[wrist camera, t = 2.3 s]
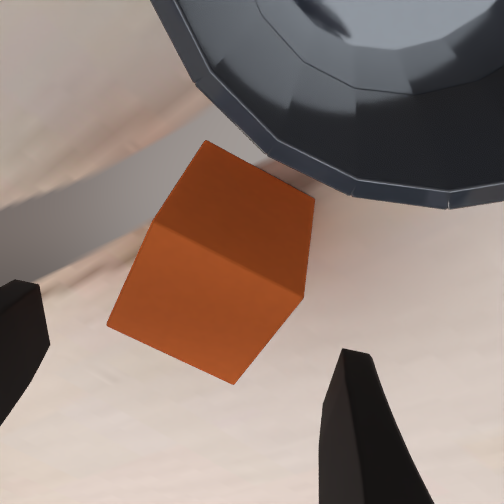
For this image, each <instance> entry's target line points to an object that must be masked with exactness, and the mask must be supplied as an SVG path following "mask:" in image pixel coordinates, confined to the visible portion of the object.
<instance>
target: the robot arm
mask: <svg viewBox="0 0 504 504" xmlns="http://www.w3.org/2000/svg"><path fill="white" fill-rule="evenodd" d="M49 346H50V340H49V335H48V329H47V324H46V319H45V313H44V308H43V303H42V297H41V292H40V286H39V284H34V283H29V282H25V281H20V280H13V281H11V282H9V283H7V284H5V285H4V286H2V287H0V426H1V424H2V423H3V422H4V420H5V419H6V417H7V416H8V415H9V413H10V412H11V410H12V409H13V407H14V406H15V404H16V403H17V402H18V400H19V399H20V397H21V396H22V394H23V393H24V391H25V390H26V388H27V387H28V385H29V384H30V382H31V381H32V379H33V377H34V375H35V373H36V371H37V370H38V368H39V366H40V364H41V362H42V360H43V358H44V356H45V354H46V352H47V350H48V348H49ZM319 504H434V502H433V500H432V498H431V496H430V494H429V492H428V490H427V488H426V486H425V484H424V482H423V480H422V478H421V476H420V474H419V472H418V470H417V468H416V466H415V464H414V462H413V460H412V458H411V456H410V454H409V451H408V449H407V447H406V445H405V442H404V440H403V438H402V435H401V433H400V431H399V429H398V426H397V424H396V422H395V419H394V417H393V414H392V412H391V409H390V407H389V404H388V402H387V399H386V397H385V394H384V391H383V388H382V386H381V383H380V380H379V377H378V374H377V371H376V368H375V365H374V362H373V359H372V357H371V356H370V354H367V353H363V352H358V351H353V350H348V349H343V348H342V350H341V353H340V356H339V359H338V362H337V365H336V368H335V371H334V374H333V376H332V379H331V382H330V385H329V388H328V391H327V394H326V397H325V400H324V402H323V408H322V418H321V427H320V438H319Z"/></svg>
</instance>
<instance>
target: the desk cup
mask: <svg viewBox="0 0 504 504" xmlns="http://www.w3.org/2000/svg"><path fill="white" fill-rule="evenodd" d="M150 1H151V3H152V5H153V7H154V9H155V11H156V13H157V14H158V16H159V18H160V20H161V22H162V24H163V26H164V28H165V30H166V32H167V34H168V35H169V37H170V39H171V41H172V43H173V45H174V47H175V49H176V51H177V53H178V55H179V56H180V58H181V60H182V62H183V64H184V66H185V68H186V70H187V72H188V74H189V76H190V77H191V79H192V81H193V82H194V83H195V85H196V87H197V88H198V89H199V90H200V91H201V92H202V93H203V94H205V95H206V96H207V97H208V98H209V99H210V100H211V101H212V102H213V103H214V104H215V105H216V106H217V107H218V108H219V109H220V110H221V111H222V112H223V113H224V114H225V115H226V116H227V117H228V118H229V119H230V120H231V121H232V122H233V123H234V124H235V125H236V126H237V127H238V128H239V129H240V130H241V131H242V132H243V133H244V134H245V135H246V136H247V137H248V138H249V139H250V140H251V141H252V142H253V143H254V144H255V145H256V146H257V147H258V148H259V149H260V150H261V151H262V152H263V153H264V154H267V156H268V157H270V158H272V159H274V160H276V161H278V162H280V163H283V164H285V165H287V166H289V167H291V168H293V169H295V170H297V171H299V172H301V173H303V174H305V175H307V176H309V177H311V178H313V179H315V180H317V181H319V182H321V183H324V184H326V185H328V186H330V187H332V188H334V189H336V190H338V191H340V192H342V193H344V194H346V195H348V196H352V197H356V198H363V199H371V200H378V201H385V202H393V203H400V204H407V205H415V206H422V207H429V208H437V209H444V210H445V209H457V208H463V207H470V206H476V205H483V204H489V203H496V202H502V201H504V0H150Z"/></svg>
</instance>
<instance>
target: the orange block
mask: <svg viewBox="0 0 504 504" xmlns="http://www.w3.org/2000/svg"><path fill="white" fill-rule="evenodd" d="M314 204H315V199H314V198H312V197H310V196H308V195H307V194H305V193H303V192H301V191H299V190H297V189H296V188H294V187H292V186H290V185H288V184H286V183H284V182H283V181H281V180H279V179H277V178H275V177H273V176H272V175H270V174H268V173H266V172H264V171H262V170H261V169H259V168H257V167H255V166H253V165H251V164H249V163H248V162H246V161H244V160H242V159H240V158H239V157H237V156H235V155H233V154H231V153H229V152H227V151H226V150H224V149H222V148H220V147H218V146H216V145H215V144H213V143H211V142H209V141H207V140H205V141H204V143H203V144H202V145H201V147H200V149H199V150H198V152H197V153H196V155H195V156H194V158H193V159H192V161H191V162H190V164H189V165H188V167H187V168H186V170H185V172H184V173H183V175H182V176H181V178H180V179H179V181H178V182H177V184H176V185H175V187H174V188H173V190H172V191H171V193H170V195H169V196H168V198H167V199H166V201H165V202H164V204H163V206H162V207H161V209H160V210H159V212H158V213H157V214H156V216H155V218H154V219H153V221H152V223H151V225H150V227H149V229H148V232H147V234H146V236H145V238H144V241H143V243H142V245H141V247H140V249H139V252H138V254H137V256H136V258H135V261H134V263H133V265H132V267H131V270H130V272H129V274H128V276H127V279H126V281H125V283H124V285H123V288H122V290H121V292H120V294H119V297H118V299H117V301H116V303H115V306H114V308H113V310H112V312H111V315H110V317H109V319H108V321H107V326H108V327H110V328H112V329H114V330H117V331H119V332H121V333H123V334H125V335H127V336H129V337H132V338H134V339H136V340H138V341H140V342H142V343H144V344H147V345H149V346H151V347H153V348H155V349H157V350H159V351H162V352H164V353H166V354H168V355H170V356H172V357H174V358H177V359H179V360H181V361H183V362H185V363H187V364H189V365H192V366H194V367H196V368H198V369H200V370H202V371H204V372H207V373H209V374H211V375H213V376H215V377H217V378H219V379H222V380H224V381H226V382H228V383H230V384H233V385H234V384H235V383H236V382H237V380H238V379H239V378H240V377H241V375H242V374H243V373H244V372H245V370H246V369H247V368H248V367H249V365H250V364H251V363H252V362H253V360H254V359H255V358H256V357H257V355H258V354H259V353H260V352H261V350H262V349H263V348H264V347H265V346H266V344H267V343H268V342H269V341H270V339H271V338H272V337H273V336H274V334H275V333H276V332H277V331H278V329H279V328H280V327H281V326H282V324H283V323H284V322H285V321H286V319H287V318H288V317H289V316H290V314H291V313H292V312H293V311H294V309H295V308H296V307H297V306H298V304H299V303H300V302H301V301H302V299H303V298H304V291H305V282H306V273H307V265H308V256H309V247H310V239H311V230H312V221H313V213H314Z"/></svg>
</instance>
